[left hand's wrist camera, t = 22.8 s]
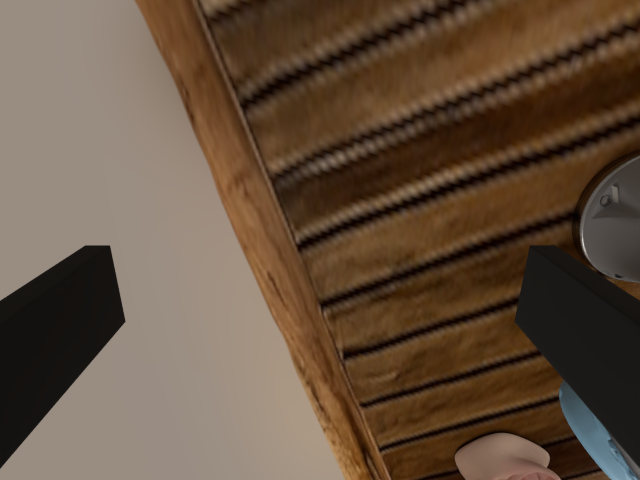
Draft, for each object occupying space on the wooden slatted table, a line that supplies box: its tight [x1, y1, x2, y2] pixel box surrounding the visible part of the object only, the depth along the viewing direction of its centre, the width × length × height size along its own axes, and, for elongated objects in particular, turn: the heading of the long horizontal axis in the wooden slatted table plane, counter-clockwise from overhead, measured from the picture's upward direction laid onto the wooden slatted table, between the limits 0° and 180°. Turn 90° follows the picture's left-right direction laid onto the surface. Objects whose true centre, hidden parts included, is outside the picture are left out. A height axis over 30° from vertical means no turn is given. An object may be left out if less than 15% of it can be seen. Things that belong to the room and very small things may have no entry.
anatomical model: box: [455, 433, 561, 480], centre depth 57 cm, size 13×4×12 cm
